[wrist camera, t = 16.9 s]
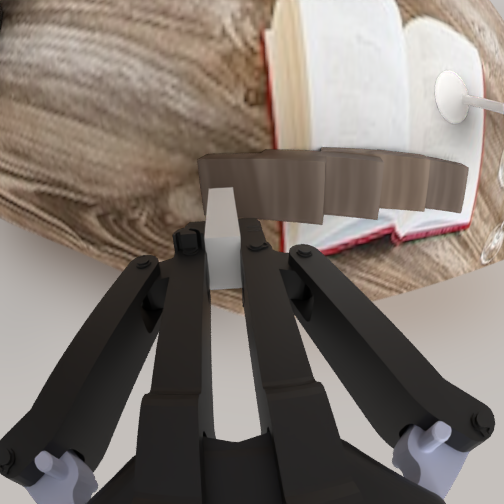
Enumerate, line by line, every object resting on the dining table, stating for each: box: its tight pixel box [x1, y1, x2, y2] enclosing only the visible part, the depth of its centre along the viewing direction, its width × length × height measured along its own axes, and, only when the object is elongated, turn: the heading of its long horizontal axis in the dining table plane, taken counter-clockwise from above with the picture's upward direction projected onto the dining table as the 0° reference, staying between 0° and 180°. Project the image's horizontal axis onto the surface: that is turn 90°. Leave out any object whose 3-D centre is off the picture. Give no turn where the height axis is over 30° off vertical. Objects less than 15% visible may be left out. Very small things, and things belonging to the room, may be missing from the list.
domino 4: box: [382, 150, 469, 213], centre depth 23 cm, size 2×5×10 cm
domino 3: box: [321, 147, 430, 212], centre depth 22 cm, size 2×5×10 cm
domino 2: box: [260, 149, 384, 220], centre depth 22 cm, size 2×5×10 cm
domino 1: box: [197, 153, 326, 225], centre depth 22 cm, size 2×5×10 cm
